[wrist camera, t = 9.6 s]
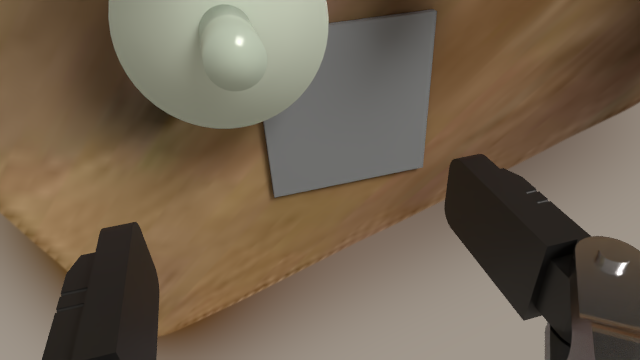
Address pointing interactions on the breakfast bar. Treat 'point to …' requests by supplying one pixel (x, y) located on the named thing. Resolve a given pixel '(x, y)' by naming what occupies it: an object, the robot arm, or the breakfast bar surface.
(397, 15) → the mat
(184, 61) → the lid
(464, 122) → the breakfast bar surface
